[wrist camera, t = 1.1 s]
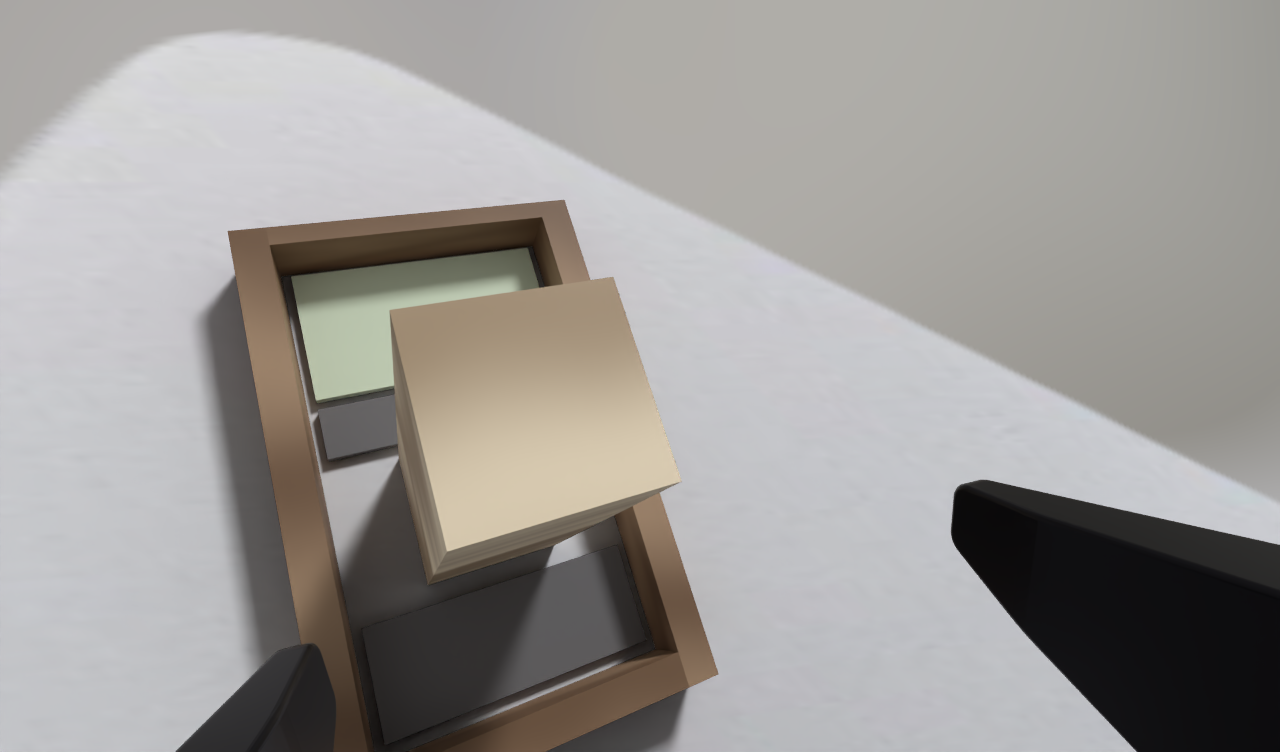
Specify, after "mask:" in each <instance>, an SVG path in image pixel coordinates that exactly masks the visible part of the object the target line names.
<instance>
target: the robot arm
mask: <svg viewBox="0 0 1280 752" xmlns="http://www.w3.org/2000/svg"><path fill="white" fill-rule="evenodd" d="M951 536H952V540H953V543H954V545H955V547H956V548H957V550H958V551H959V552H960V554H961V555H962V556H963V557H964V559H965V560H966V561H967V562H968V564H969V565H970V566H971V567H972V569H973V570H974V571H975V573H976V574H977V575H978V576H979V578H980V579H981V580H982V581H983V583H984V584H985V585H986V586H987V588H988V589H989V590H990V591H991V593H992V594H993V595H994V596H995V598H996V599H997V600H998V601H999V603H1000V604H1001V605H1002V606H1003V608H1004V609H1005V610H1006V611H1007V613H1008V614H1009V615H1010V616H1011V618H1012V619H1013V620H1014V621H1015V622H1016V624H1017V625H1018V626H1019V627H1020V628H1021V630H1022V631H1023V632H1024V633H1025V634H1026V635H1027V636H1028V638H1029V639H1030V640H1031V641H1032V642H1033V643H1034V644H1035V645H1036V646H1037V647H1038V648H1039V649H1040V650H1041V652H1042V653H1043V654H1044V655H1045V656H1046V657H1047V658H1048V659H1049V660H1050V661H1051V662H1052V663H1053V664H1054V665H1055V666H1056V667H1057V668H1058V669H1059V670H1060V672H1061V673H1062V674H1063V675H1064V676H1065V677H1066V678H1067V679H1068V680H1069V681H1070V682H1071V683H1072V684H1073V685H1074V686H1075V687H1076V688H1077V689H1078V690H1079V692H1080V693H1081V694H1082V695H1083V696H1084V697H1085V698H1086V699H1087V700H1088V701H1089V702H1090V703H1091V704H1092V705H1093V706H1094V707H1095V708H1096V709H1097V710H1098V711H1099V713H1100V714H1101V715H1102V716H1103V717H1104V718H1105V719H1106V720H1107V721H1108V722H1109V723H1110V724H1111V725H1112V726H1113V727H1114V728H1115V729H1116V730H1117V731H1118V733H1119V734H1120V735H1121V736H1122V737H1123V738H1124V739H1125V740H1126V741H1127V742H1128V743H1129V744H1130V745H1131V746H1132V747H1133V748H1134V749H1135V750H1136V751H1137V752H1280V545H1277V544H1273V543H1268V542H1264V541H1259V540H1255V539H1250V538H1246V537H1241V536H1237V535H1232V534H1228V533H1223V532H1219V531H1214V530H1210V529H1205V528H1201V527H1196V526H1192V525H1187V524H1183V523H1178V522H1174V521H1169V520H1165V519H1160V518H1156V517H1151V516H1147V515H1142V514H1138V513H1133V512H1129V511H1124V510H1120V509H1115V508H1111V507H1106V506H1102V505H1097V504H1093V503H1088V502H1084V501H1079V500H1075V499H1070V498H1066V497H1061V496H1057V495H1052V494H1048V493H1043V492H1039V491H1034V490H1030V489H1025V488H1021V487H1016V486H1012V485H1007V484H1003V483H998V482H994V481H989V480H977V481H973V482H969V483H965V484H961V485H960V486H958V487H957V489H956V490H955V492H954V500H953V512H952V524H951ZM335 726H336V699H335V694H334V691H333V688H332V685H331V681H330V678H329V675H328V672H327V669H326V666H325V663H324V660H323V657H322V654H321V651H320V649H319V648H318V646H317V645H316V644H314V643H306V644H302V645H298V646H293V647H289V648H285V649H282V650H279V651H277V652H276V653H275V654H274V655H273V656H272V657H271V658H270V659H269V660H268V661H267V662H265V663H264V664H263V665H262V666H261V667H260V668H259V669H258V670H257V671H256V672H255V673H254V674H253V675H252V676H251V677H250V678H249V679H248V680H247V681H246V682H245V683H244V684H243V685H242V686H241V687H240V688H239V689H238V690H237V691H236V692H235V693H234V694H233V695H232V696H231V697H230V698H229V699H228V700H227V701H226V702H225V703H224V704H223V705H222V706H221V707H220V708H219V709H218V710H217V711H216V712H215V713H214V714H213V715H212V716H211V717H210V718H209V719H208V720H207V721H206V722H205V723H204V724H203V725H202V726H201V727H200V728H199V729H198V730H197V731H196V732H195V733H194V734H193V735H192V736H191V737H190V738H189V739H188V740H187V741H186V742H185V743H184V744H183V745H182V746H181V747H180V748H179V749H178V750H177V751H176V752H333V750H334V738H335Z"/></svg>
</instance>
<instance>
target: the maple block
mask: <svg viewBox="0 0 1280 752" xmlns="http://www.w3.org/2000/svg"><path fill="white" fill-rule="evenodd" d="M389 311H390V327H391V343H392V359H393V375H394V391H395V406H396V422H397V438H398V454H399V462H400V466H401V471H402V475H403V479H404V484H405V488H406V492H407V497H408V501H409V506H410V510H411V514H412V519H413V523H414V527H415V532H416V536H417V541H418V545H419V549H420V554H421V558H422V563H423V567H424V571H425V576H426V580H427V584H428V585H431V584H434V583H437V582H440V581H443V580H446V579H450V578H453V577H456V576H459V575H462V574H465V573H469V572H472V571H475V570H478V569H481V568H484V567H488V566H491V565H494V564H497V563H500V562H503V561H507V560H510V559H513V558H516V557H519V556H522V555H525V554H529V553H532V552H535V551H538V550H541V549H544V548H548V547H551V546H554V545H556V544H558V543H560V542H562V541H564V540H566V539H568V538H570V537H572V536H574V535H576V534H578V533H580V532H582V531H584V530H586V529H588V528H590V527H592V526H594V525H596V524H598V523H600V522H602V521H604V520H606V519H608V518H610V517H612V516H614V515H616V514H618V513H620V512H622V511H624V510H626V509H628V508H630V507H632V506H634V505H636V504H638V503H640V502H642V501H644V500H646V499H648V498H650V497H652V496H653V495H655V494H657V493H659V492H661V491H663V490H665V489H667V488H669V487H671V486H673V485H675V484H677V483H679V482H681V478H680V475H679V472H678V469H677V466H676V463H675V460H674V457H673V454H672V451H671V448H670V445H669V442H668V439H667V436H666V433H665V430H664V427H663V424H662V421H661V418H660V415H659V412H658V409H657V406H656V403H655V400H654V397H653V394H652V391H651V388H650V386H649V383H648V380H647V377H646V374H645V371H644V368H643V365H642V362H641V359H640V356H639V353H638V350H637V347H636V344H635V341H634V338H633V335H632V332H631V329H630V326H629V323H628V320H627V317H626V314H625V311H624V308H623V305H622V302H621V299H620V296H619V293H618V290H617V287H616V284H615V281H614V278H613V277H609V278H603V279H596V280H589V281H582V282H576V283H569V284H562V285H555V286H549V287H542V288H535V289H528V290H522V291H515V292H508V293H501V294H494V295H488V296H481V297H474V298H467V299H461V300H454V301H447V302H440V303H434V304H427V305H420V306H413V307H407V308H400V309H393V310H389Z"/></svg>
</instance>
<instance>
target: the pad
mask: <svg viewBox="0 0 1280 752" xmlns="http://www.w3.org/2000/svg"><path fill="white" fill-rule="evenodd" d="M291 279H292V284H293V289H294V294H295V299H296V304H297V309H298V314H299V319H300V324H301V329H302V334H303V339H304V344H305V349H306V354H307V359H308V364H309V369H310V374H311V379H312V384H313V389H314V394H315V399H316V402H317V403H322V402H327V401H332V400H337V399H342V398H348V397H353V396H358V395H363V394H368V393H373V392H378V391H384V390H389V389H394V375H393V359H392V343H391V327H390V311H389V310H393V309H400V308H407V307H413V306H420V305H427V304H434V303H440V302H447V301H454V300H461V299H467V298H474V297H481V296H488V295H494V294H501V293H508V292H515V291H522V290H528V289H535V288H539V284H538V281H537V278H536V274H535V271H534V268H533V264H532V261H531V258H530V255H529V251H528V248H522V249H514V250H506V251H497V252H489V253H481V254H473V255H464V256H456V257H448V258H440V259H431V260H423V261H415V262H407V263H398V264H390V265H382V266H374V267H365V268H357V269H349V270H341V271H332V272H324V273H316V274H308V275H299V276H291Z"/></svg>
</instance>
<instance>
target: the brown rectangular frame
mask: <svg viewBox="0 0 1280 752" xmlns="http://www.w3.org/2000/svg"><path fill="white" fill-rule="evenodd" d="M228 236H229V241H230V247H231V253H232V258H233V264H234V269H235V275H236V281H237V286H238V292H239V298H240V303H241V309H242V315H243V320H244V326H245V331H246V337H247V343H248V348H249V354H250V360H251V365H252V371H253V376H254V382H255V388H256V393H257V399H258V405H259V410H260V416H261V421H262V427H263V433H264V438H265V444H266V450H267V455H268V461H269V467H270V472H271V478H272V483H273V489H274V495H275V500H276V506H277V512H278V517H279V523H280V528H281V534H282V540H283V545H284V551H285V557H286V562H287V568H288V573H289V579H290V585H291V590H292V596H293V602H294V607H295V613H296V618H297V624H298V630H299V635H300V641H301V645H302V644H306V643H314V644H316V645H317V646H318V648H319V649H320V651H321V654H322V657H323V660H324V663H325V666H326V669H327V672H328V675H329V678H330V681H331V685H332V688H333V691H334V694H335V699H336V726H335V738H334V750H333V752H375V751H374V746H373V741H372V736H371V731H370V726H369V721H368V716H367V711H366V706H365V701H364V695H363V690H362V685H361V680H360V675H359V670H358V665H357V660H356V655H355V650H354V645H353V639H352V634H351V629H350V624H349V619H348V614H347V609H346V604H345V599H344V594H343V589H342V584H341V578H340V573H339V568H338V563H337V558H336V553H335V548H334V543H333V538H332V533H331V528H330V522H329V517H328V512H327V507H326V502H325V497H324V492H323V487H322V482H321V477H320V472H319V467H318V461H317V456H316V451H315V446H314V441H313V436H312V431H311V426H310V421H309V416H308V411H307V405H306V400H305V395H304V390H303V385H302V380H301V375H300V370H299V365H298V360H297V355H296V350H295V344H294V339H293V334H292V329H291V324H290V319H289V314H288V309H287V304H286V299H285V294H284V288H283V283H282V278H281V277H282V276H291V275H299V274H307V273H316V272H324V271H332V270H341V269H349V268H357V267H365V266H374V265H382V264H390V263H399V262H407V261H415V260H423V259H432V258H440V257H448V256H457V255H465V254H473V253H481V252H490V251H498V250H506V249H515V248H523V247H531V246H532V247H533V250H534V253H535V256H536V260H537V263H538V266H539V269H540V273H541V276H542V279H543V283H544V286H545V287H549V286H555V285H562V284H569V283H576V282H582V281H589V280H590V277H589V274H588V271H587V268H586V265H585V262H584V259H583V256H582V253H581V250H580V247H579V244H578V240H577V237H576V234H575V231H574V228H573V225H572V222H571V219H570V216H569V213H568V210H567V207H566V204H565V200H558V201H547V202H536V203H526V204H515V205H504V206H493V207H483V208H472V209H461V210H450V211H440V212H429V213H418V214H407V215H396V216H386V217H375V218H364V219H353V220H343V221H332V222H321V223H310V224H299V225H289V226H278V227H267V228H256V229H246V230H235V231H228ZM615 518H616V522H617V525H618V528H619V532H620V535H621V538H622V541H623V545H624V548H625V551H626V554H627V558H628V561H629V564H630V568H631V571H632V574H633V577H634V581H635V584H636V587H637V591H638V594H639V597H640V600H641V604H642V607H643V610H644V613H645V617H646V620H647V623H648V627H649V630H650V633H651V636H652V640H653V643H654V646H655V650H652V651H650V652H648V653H645V654H643V655H640V656H638V657H635V658H633V659H630V660H628V661H626V662H623V663H621V664H618V665H616V666H613V667H611V668H609V669H606V670H604V671H601V672H599V673H596V674H594V675H592V676H589V677H587V678H584V679H582V680H579V681H577V682H574V683H572V684H570V685H567V686H565V687H562V688H560V689H557V690H555V691H553V692H550V693H548V694H545V695H543V696H540V697H538V698H536V699H533V700H531V701H528V702H526V703H523V704H521V705H518V706H516V707H514V708H511V709H509V710H506V711H504V712H501V713H499V714H497V715H494V716H492V717H489V718H487V719H484V720H482V721H480V722H477V723H475V724H472V725H470V726H467V727H465V728H462V729H460V730H458V731H455V732H453V733H450V734H448V735H445V736H443V737H441V738H438V739H436V740H433V741H431V742H428V743H426V744H423V745H421V746H419V747H416V748H414V749H411V750H409V751H406V752H546V751H548V750H550V749H552V748H555V747H557V746H559V745H561V744H564V743H566V742H568V741H570V740H573V739H575V738H577V737H579V736H581V735H584V734H586V733H588V732H590V731H593V730H595V729H597V728H599V727H602V726H604V725H606V724H608V723H610V722H613V721H615V720H617V719H619V718H622V717H624V716H626V715H628V714H631V713H633V712H635V711H637V710H640V709H642V708H644V707H646V706H648V705H651V704H653V703H655V702H657V701H660V700H662V699H664V698H666V697H669V696H671V695H673V694H675V693H678V692H680V691H682V690H684V689H686V688H689V687H691V686H693V685H695V684H698V683H700V682H702V681H704V680H707V679H709V678H711V677H713V676H716V675H718V671H717V668H716V665H715V662H714V659H713V656H712V653H711V650H710V647H709V643H708V640H707V637H706V634H705V631H704V628H703V625H702V622H701V619H700V616H699V613H698V610H697V607H696V603H695V600H694V597H693V594H692V591H691V588H690V585H689V582H688V579H687V576H686V573H685V570H684V567H683V563H682V560H681V557H680V554H679V551H678V548H677V545H676V542H675V539H674V536H673V533H672V530H671V527H670V523H669V520H668V517H667V514H666V511H665V508H664V505H663V502H662V499H661V496H660V493H657V494H655V495H653V496H652V497H650V498H648V499H646V500H644V501H642V502H640V503H638V504H636V505H634V506H632V507H630V508H628V509H626V510H624V511H622V512H620V513H618V514H616V515H615Z"/></svg>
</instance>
